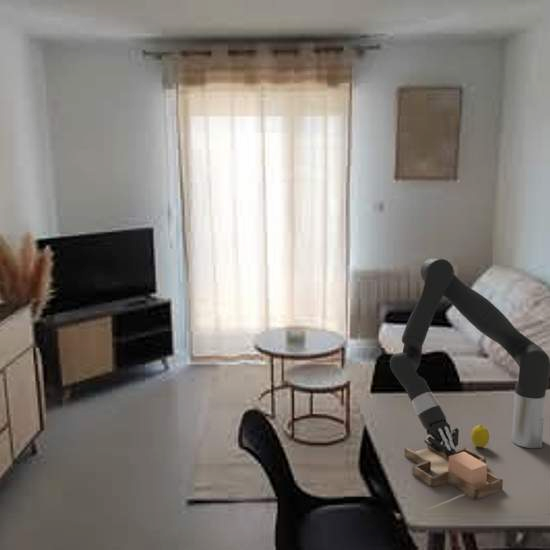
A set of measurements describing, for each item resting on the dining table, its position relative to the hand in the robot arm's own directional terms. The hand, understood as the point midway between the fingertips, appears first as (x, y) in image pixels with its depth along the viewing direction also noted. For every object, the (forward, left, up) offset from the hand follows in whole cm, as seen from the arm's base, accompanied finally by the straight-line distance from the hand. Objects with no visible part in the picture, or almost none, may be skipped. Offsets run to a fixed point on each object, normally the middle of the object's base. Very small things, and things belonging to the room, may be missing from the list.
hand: (456, 463), depth 177 cm
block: (-4, +4, -4) cm, 6 cm away
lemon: (-5, -21, -4) cm, 22 cm away
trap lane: (+2, -2, -4) cm, 5 cm away
